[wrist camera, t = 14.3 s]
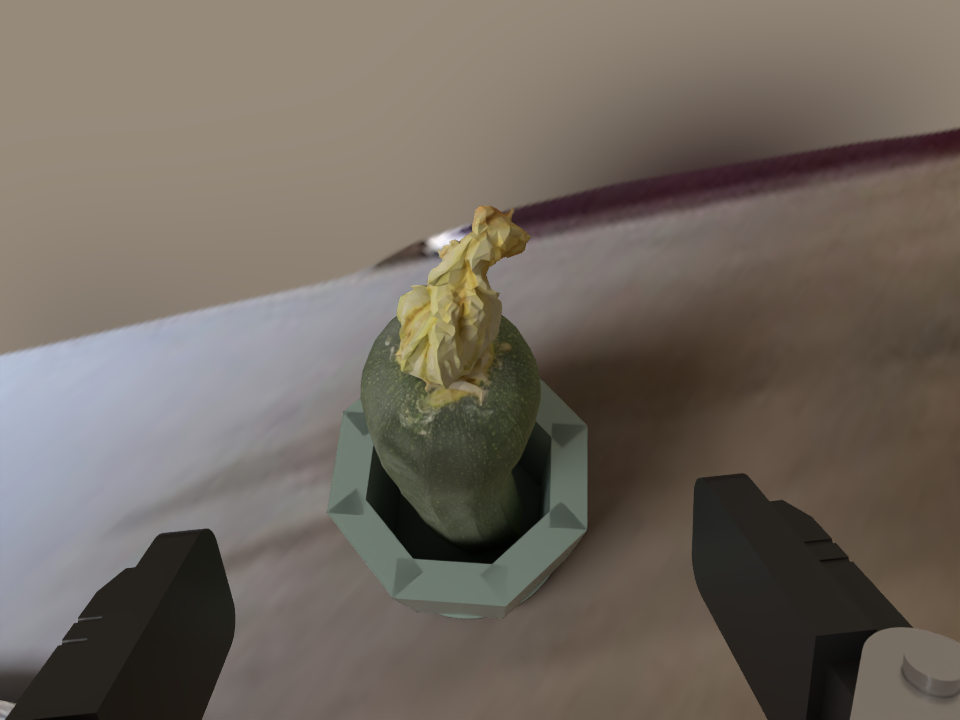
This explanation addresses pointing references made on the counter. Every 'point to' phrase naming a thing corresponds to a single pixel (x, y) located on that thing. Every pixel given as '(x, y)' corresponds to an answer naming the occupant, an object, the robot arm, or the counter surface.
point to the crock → (442, 567)
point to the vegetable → (456, 393)
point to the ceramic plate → (5, 709)
